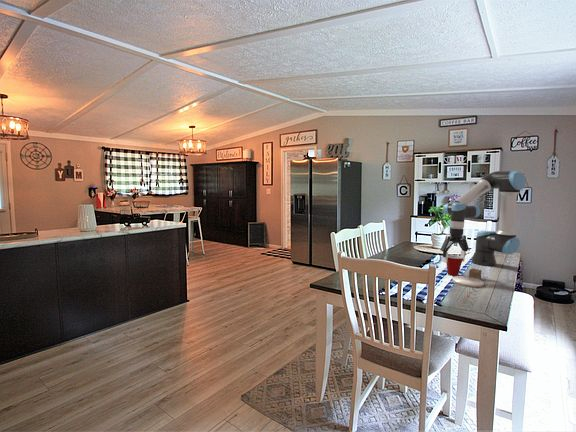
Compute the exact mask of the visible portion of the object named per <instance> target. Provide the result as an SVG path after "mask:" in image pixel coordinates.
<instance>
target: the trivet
mask: <svg viewBox="0 0 576 432" xmlns="http://www.w3.org/2000/svg"><path fill="white" fill-rule="evenodd" d="M452 282H453V283H454V284H456V285H459V286H462V287H469V288H482V287H484V286H485V285H484V284H485V283H484V280H481V278H480V279H477V278H473V277H469V275H458V276H452Z"/></svg>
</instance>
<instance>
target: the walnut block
mask: <svg viewBox="0 0 576 432" xmlns="http://www.w3.org/2000/svg"><path fill="white" fill-rule="evenodd" d="M468 277H473V278H477V279H480V280H481V279H482V269H477V268H471V269H469V271H468Z"/></svg>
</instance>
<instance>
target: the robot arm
mask: <svg viewBox="0 0 576 432" xmlns="http://www.w3.org/2000/svg"><path fill="white" fill-rule="evenodd" d="M525 186H526V177H525V175H524V174H523V173H522V172H521V171H517V170H508V171H506V170H503V171H502V170H500V171H499V170H497V171H494V172H491V173H487V174H486V175H485V176H483V177H481V178H480V179H478V181H477V183H476V184H475V185H474V186H472V187H470V188H469V189H468V190H467V191H466V192H464V193H463V194H461V196H459V197H458V198H457V199H456V200H454V201H453V202H451V203H449V202H447V203H445V204H443V207H442V212H443V213H444V214H445V215H448V216H450V225H449V235H446V236H445V239H444V240H443V243H442V245H441V248H440V251H441V252H442V262H443V263H445V264H447V259H448V255H449V252H448V251H449V250H450V248H452V246H453V245H454V244H458V246H459V247H460V249H461V250H460V255H459V256H461V257H464V259H463V260H462V262H463V263H464V262H465V260H466V259H465V258H466V252H468V251H469V250H470V248H469V244H468V241H467V236H466V235H465V234H464V228H465V219H474V218H475V219H476V218H479V216H480V215H481V209H480V207H479V206H477V205H472V203H473V202H474V201H476V200H477V199H479V198H480V197H481V196H482V195H483V194H484V193H486V192H490V191H491V190H494V189H495V190H496V189H498V193H499V194H500V207H499V208H500V209H499V219H498V230H497V231H494V230H480V231H477V232H476V239H475V248H474V249H475V251H474V253H473V255H472V257H471V263H472V264H476V265H480V266H485V267H487V266H488V267H493V266H496V265H497V260H496V256H495V252H497V253H501V254H504V255H506V254H507V255H513V254H515V253H516V252H517V251H518V250H519V249H520V244H521V242H520V239H519V238H518V237H517V233H516V232H515V221H516V211H517V210H516V208H517V198H518V194H520V193H521V190H524V188H525ZM470 204H471V205H470Z"/></svg>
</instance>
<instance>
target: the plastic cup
mask: <svg viewBox="0 0 576 432" xmlns="http://www.w3.org/2000/svg"><path fill="white" fill-rule="evenodd" d="M463 259H464V257H461V256H460V255H455V254H454V255H453V254H448V259H447V263H446V271H447V275H448V276H451V275H452V277H455V276H459V273H460V271H461V267H462V264H463V263H462V262H463V261H462V260H463Z"/></svg>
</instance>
